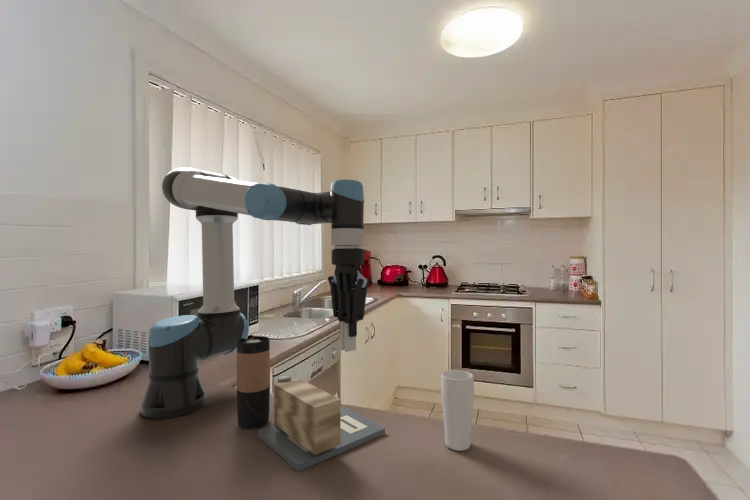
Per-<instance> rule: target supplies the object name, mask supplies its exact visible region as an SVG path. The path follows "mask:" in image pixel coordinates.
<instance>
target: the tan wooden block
mask: <svg viewBox="0 0 750 500" xmlns="http://www.w3.org/2000/svg"><path fill="white" fill-rule="evenodd" d="M273 390H274V391H273V394H274V395H273V399H274V400H273V401H274V403H273V408H274V409H273V411H274V415H273V417H274V419H273V420H274V422H273V423H274V424H273V425H276V426H277V427H279V428H280V429H281V430H283V431H284V432H285V433H286V434H288V435H289V436H290V437H292V438H293V439H294V440H296V441H297V442H298V443H300V444H301V445H302V446H304V447H305V448H306V449H308V450H309V451H310V452H311V453H313V454H314V455H316V454H319V453H321V452H323V451H326V450H328V449H331V448H333V447H335V446H338V445H340V444H341V429H340V405H341V399H340V398H338V397H337V396H334V395H333V394H330V393H329V392H326V391H325V390H323V389H320V388H319V387H317V386H316V385H313V384H311V383H309V382H306V381H305V380H303V379H301V378H299V377H297V378H293V379H292V377H291V376H289V375H283V376H278V378H277V383H274V384H273Z"/></svg>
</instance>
